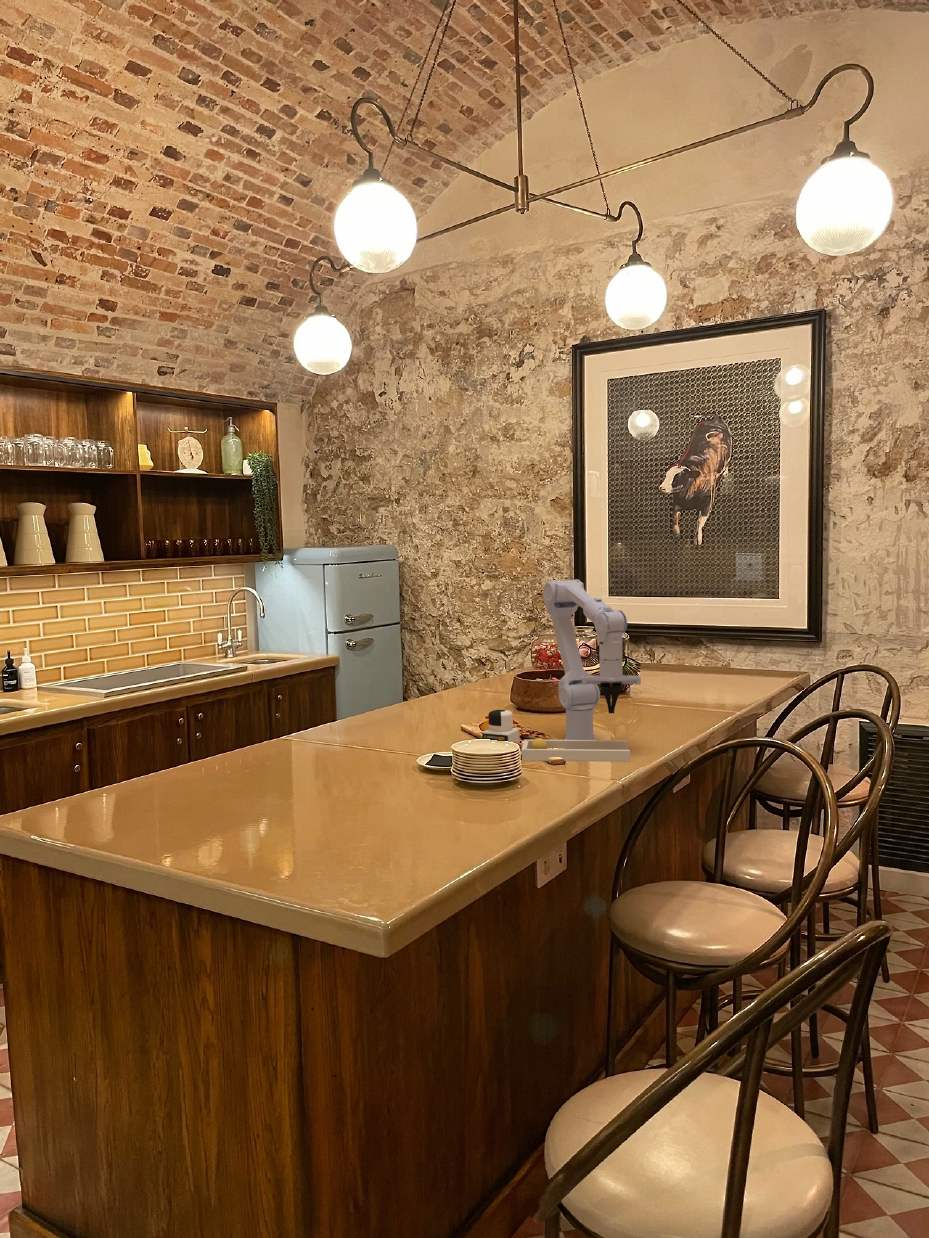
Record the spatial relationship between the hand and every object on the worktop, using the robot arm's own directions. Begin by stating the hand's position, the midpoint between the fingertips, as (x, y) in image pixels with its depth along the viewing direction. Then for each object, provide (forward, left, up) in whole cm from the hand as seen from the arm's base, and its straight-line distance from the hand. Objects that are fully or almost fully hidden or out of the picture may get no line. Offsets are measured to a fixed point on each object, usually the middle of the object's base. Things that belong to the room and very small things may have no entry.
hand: (611, 712), depth 239 cm
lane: (+4, -9, -10) cm, 14 cm away
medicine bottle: (+6, -28, -11) cm, 30 cm away
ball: (+3, -16, -8) cm, 18 cm away
